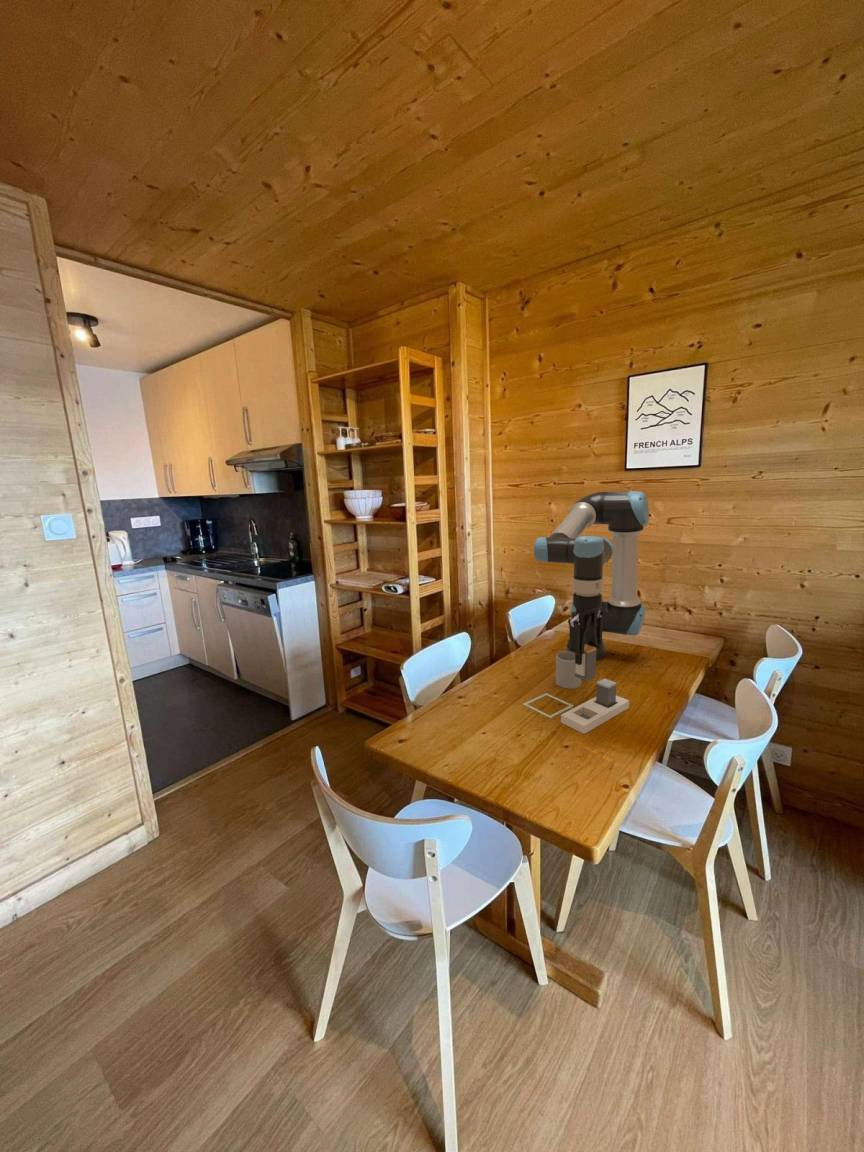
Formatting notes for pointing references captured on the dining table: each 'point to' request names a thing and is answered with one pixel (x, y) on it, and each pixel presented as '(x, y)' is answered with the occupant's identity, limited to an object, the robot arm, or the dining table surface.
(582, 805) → the dining table surface
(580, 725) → the strip
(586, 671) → the plug
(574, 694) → the dining table surface
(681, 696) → the dining table surface
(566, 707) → the tray
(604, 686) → the grey square peg
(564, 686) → the mug
